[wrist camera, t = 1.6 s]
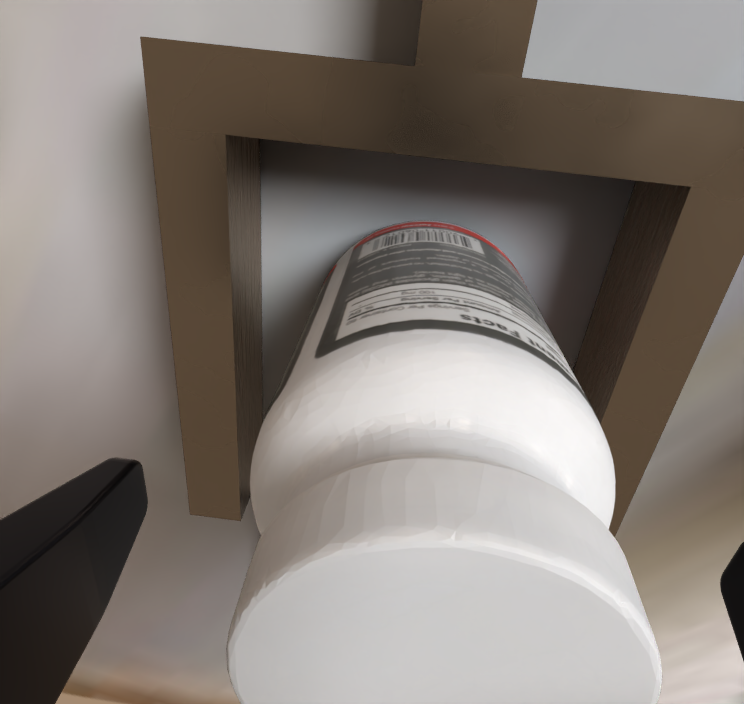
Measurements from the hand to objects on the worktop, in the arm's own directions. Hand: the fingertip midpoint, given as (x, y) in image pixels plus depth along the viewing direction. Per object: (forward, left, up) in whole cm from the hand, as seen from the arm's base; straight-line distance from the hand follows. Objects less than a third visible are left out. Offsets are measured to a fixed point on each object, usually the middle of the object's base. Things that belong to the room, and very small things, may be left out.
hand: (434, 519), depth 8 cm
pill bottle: (0, 0, -8) cm, 8 cm away
